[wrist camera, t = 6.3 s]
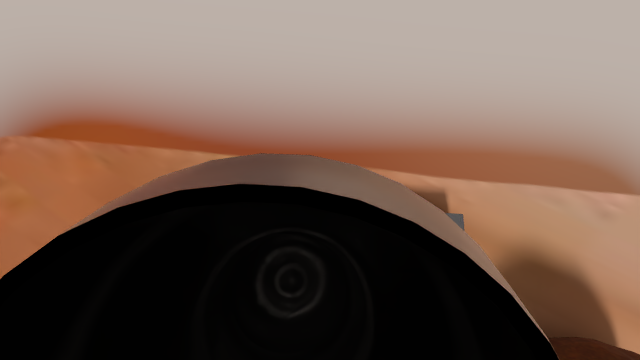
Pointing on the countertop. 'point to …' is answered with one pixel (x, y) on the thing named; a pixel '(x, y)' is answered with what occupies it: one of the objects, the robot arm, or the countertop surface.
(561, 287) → the countertop surface
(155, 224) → the plastic bottle
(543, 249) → the countertop surface
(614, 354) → the potato
